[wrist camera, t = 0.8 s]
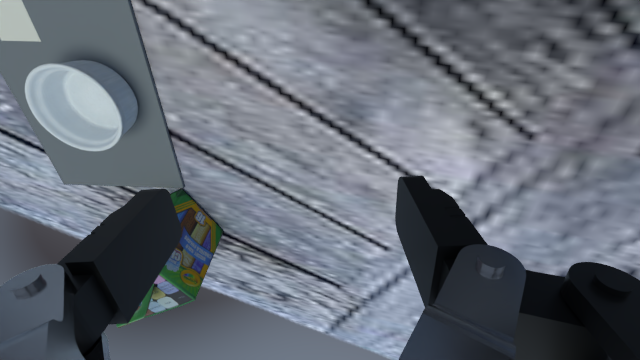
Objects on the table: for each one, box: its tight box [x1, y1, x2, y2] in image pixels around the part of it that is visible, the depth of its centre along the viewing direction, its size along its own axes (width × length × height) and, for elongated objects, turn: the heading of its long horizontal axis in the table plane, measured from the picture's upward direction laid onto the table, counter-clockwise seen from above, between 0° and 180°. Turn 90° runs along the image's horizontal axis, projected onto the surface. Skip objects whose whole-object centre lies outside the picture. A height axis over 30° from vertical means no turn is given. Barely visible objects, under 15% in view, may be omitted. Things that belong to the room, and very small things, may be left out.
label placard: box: [0, 0, 185, 188], centre depth 33 cm, size 24×16×1 cm, turn 179°
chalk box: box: [117, 189, 223, 328], centre depth 37 cm, size 9×9×15 cm
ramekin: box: [25, 60, 138, 151], centre depth 31 cm, size 9×9×4 cm
